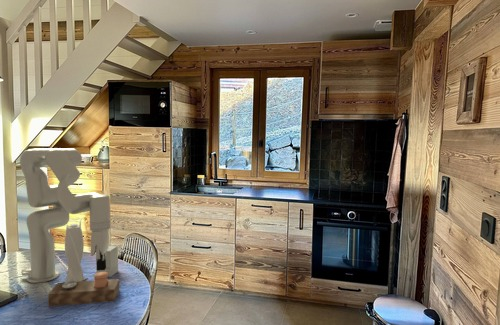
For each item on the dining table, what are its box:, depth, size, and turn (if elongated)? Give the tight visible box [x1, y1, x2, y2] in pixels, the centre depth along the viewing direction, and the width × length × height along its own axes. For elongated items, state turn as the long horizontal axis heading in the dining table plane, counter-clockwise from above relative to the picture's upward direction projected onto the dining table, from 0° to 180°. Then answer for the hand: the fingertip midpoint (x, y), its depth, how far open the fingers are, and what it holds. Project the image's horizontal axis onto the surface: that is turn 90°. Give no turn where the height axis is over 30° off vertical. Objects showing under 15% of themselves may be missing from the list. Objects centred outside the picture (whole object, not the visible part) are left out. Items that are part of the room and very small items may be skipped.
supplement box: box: [95, 245, 119, 278], centre depth 156 cm, size 7×7×13 cm
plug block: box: [47, 278, 120, 308], centre depth 133 cm, size 24×10×5 cm, turn 101°
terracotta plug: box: [93, 272, 109, 288], centre depth 133 cm, size 5×5×6 cm
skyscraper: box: [63, 221, 88, 282], centre depth 147 cm, size 8×8×28 cm
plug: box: [62, 281, 77, 290], centre depth 131 cm, size 5×5×6 cm
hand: (101, 269), depth 133 cm, fingers closed
